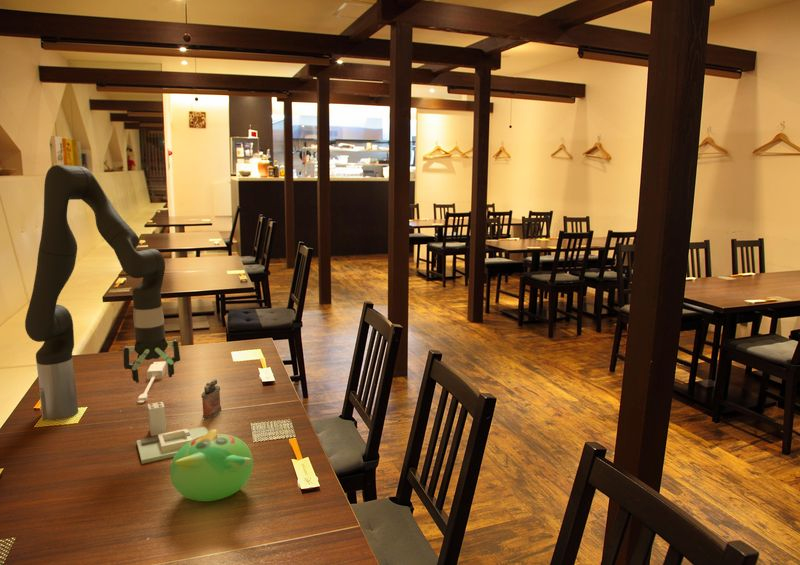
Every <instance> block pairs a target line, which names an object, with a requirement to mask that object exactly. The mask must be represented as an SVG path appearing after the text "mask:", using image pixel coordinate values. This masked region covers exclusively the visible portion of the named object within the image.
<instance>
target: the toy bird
mask: <svg viewBox="0 0 800 565" xmlns="http://www.w3.org/2000/svg"><path fill="white" fill-rule="evenodd" d="M172 458H173V459H172V460H171V463H170V468H169V469H170V471H169V472H170V474H169V476H170V479H171V482H172V485H173V487H174V488H175V490H176V491H177V492H178V493H179V494H180V495H181V496H183V497H185V498H187V499H188V500H193V501H198V502H214V501H218V500H219V501H220V500H222V499H223V500H224V499H225V498H228V497H230V496H232V495H234V494H236V493H237V492H238V491H240V490H241V489H242V488H243V487H244V486H245V485H246V484H247V483H248V481H249V480H250V477H251V475H252V472H253V468H254V460H253V454H252V451H251V450H250V448H249V446H248V445H247V444H246V443H245V442H244V441H243V440H242V439H241V438H239V437H236V436H235V435H231V434H230V435H229V434H225V433H218V429H216V428H214V429H213V428H212V429H211V430H208V433H207V434H206V435H204V436H201V437H198V438H195V439H193V440H191V441H189V442H188V443H186V444H185V445H184V446H182V447H181V448H180V449H179V450H178V452H177V453H176V455H175V456H174V457H172Z"/></svg>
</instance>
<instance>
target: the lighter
mask: <svg viewBox="0 0 800 565" xmlns="http://www.w3.org/2000/svg"><path fill="white" fill-rule="evenodd" d="M217 384H218V380H217V379H213V380H211V381H210V382H206V384H205V386H204V391H203V392H202V393H201V395H200V396H201V399H202V419H203V418H204V420H210V418H211V419H212V417H213V418H214V417H216V416H217V415H219V413H220V412H221V411H222V405H221V393H220V391H221V386H220V385H217ZM220 410H221V411H220ZM215 415H216V416H215Z"/></svg>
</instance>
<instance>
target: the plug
mask: <svg viewBox="0 0 800 565" xmlns="http://www.w3.org/2000/svg"><path fill="white" fill-rule="evenodd" d="M147 416H148V427H149V428H148V429H149V433H150V436H151V437H156V436H158V434H163V433H168V432H167V422H166V421H167V420H166V408H165V404H164V402H163V401H158V402H157V401H156V402H152V403H148V404H147Z"/></svg>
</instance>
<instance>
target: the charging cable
mask: <svg viewBox="0 0 800 565" xmlns="http://www.w3.org/2000/svg"><path fill="white" fill-rule="evenodd" d="M167 363H168V362H167V361H166V360H164V361H153V363H152V364H150V365H149V367H148V368H147V371H146V380H147V379H150V381H149V382H148V384H147V386H146V388H145V390H144V392H143V393H141V394H139V396H138V398H137V403H138V404H142V403H143V404H144V403H145V402H144V401H147V402H148V399H149V394H148V393H149V390H150V389H151V387H152V385H153V383H154V381H155V380H162V379H163V378H164V376H165V375H166V372H167V368H166V367H168V365H167Z"/></svg>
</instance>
